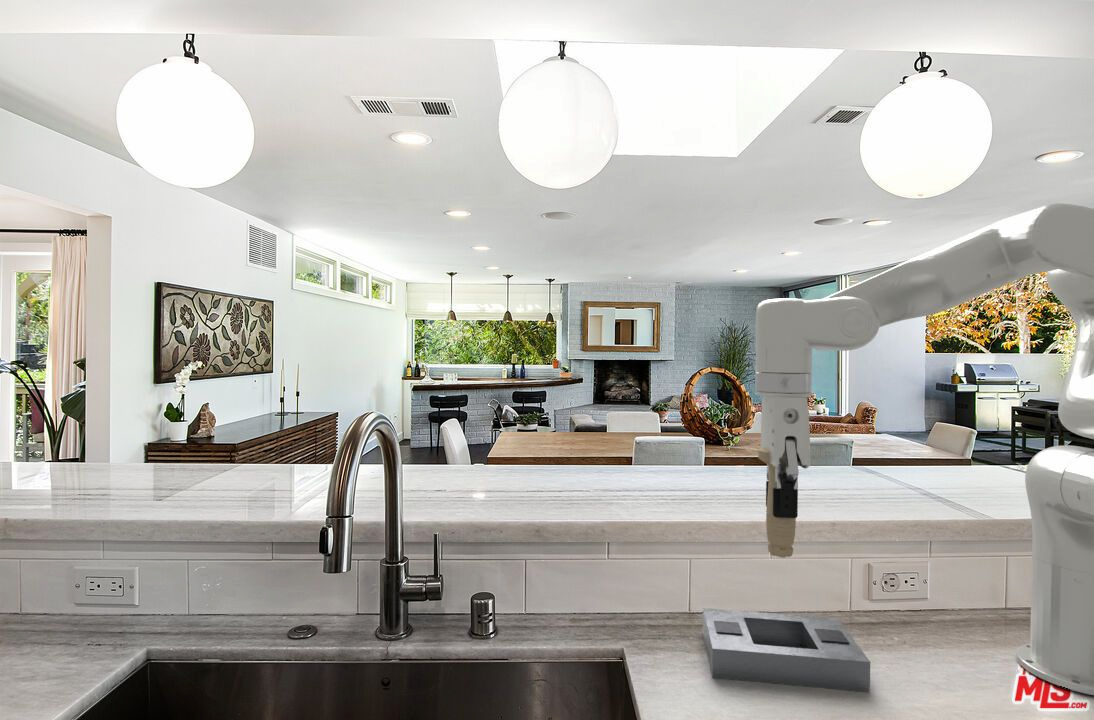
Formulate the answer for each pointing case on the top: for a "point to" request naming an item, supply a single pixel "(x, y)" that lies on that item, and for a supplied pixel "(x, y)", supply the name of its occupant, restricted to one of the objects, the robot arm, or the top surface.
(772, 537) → the handle
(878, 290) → the robot arm
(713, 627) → the block
